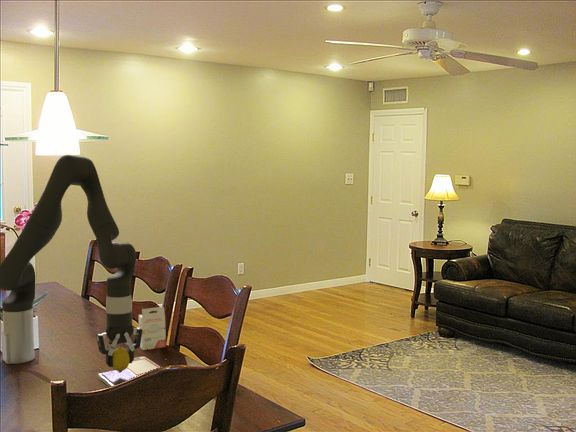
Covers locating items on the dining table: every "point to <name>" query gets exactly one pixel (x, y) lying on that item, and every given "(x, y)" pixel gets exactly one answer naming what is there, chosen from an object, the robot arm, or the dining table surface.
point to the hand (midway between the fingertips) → (120, 364)
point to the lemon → (120, 359)
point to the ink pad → (115, 377)
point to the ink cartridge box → (152, 328)
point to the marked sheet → (141, 365)
